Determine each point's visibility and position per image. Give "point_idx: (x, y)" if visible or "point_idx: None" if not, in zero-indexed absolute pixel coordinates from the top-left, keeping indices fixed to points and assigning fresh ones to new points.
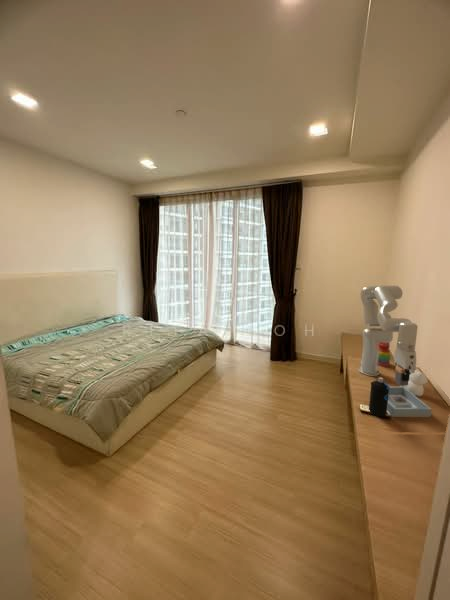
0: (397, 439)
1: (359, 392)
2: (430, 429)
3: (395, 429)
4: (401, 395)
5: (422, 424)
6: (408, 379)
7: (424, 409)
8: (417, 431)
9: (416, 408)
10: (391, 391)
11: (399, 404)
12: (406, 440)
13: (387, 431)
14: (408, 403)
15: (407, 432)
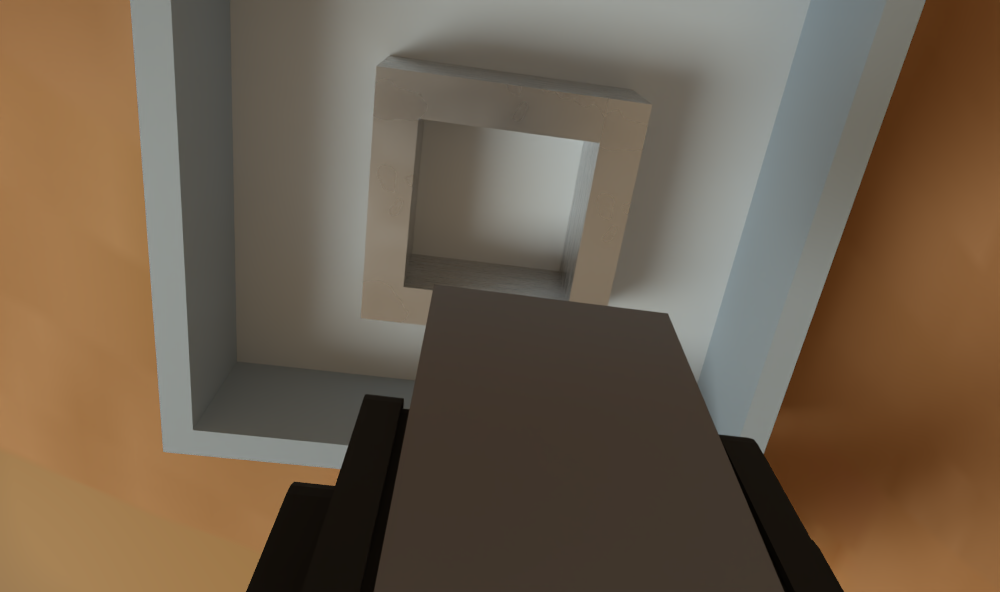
0: (946, 567)
1: (165, 471)
2: (992, 156)
3: (845, 505)
4: (391, 81)
5: (893, 176)
6: (764, 484)
7: (891, 81)
8: (951, 329)
9: (835, 206)
10: (209, 113)
11: (608, 297)
12: (988, 510)
13: (840, 581)
14: (624, 150)
15: (919, 433)
